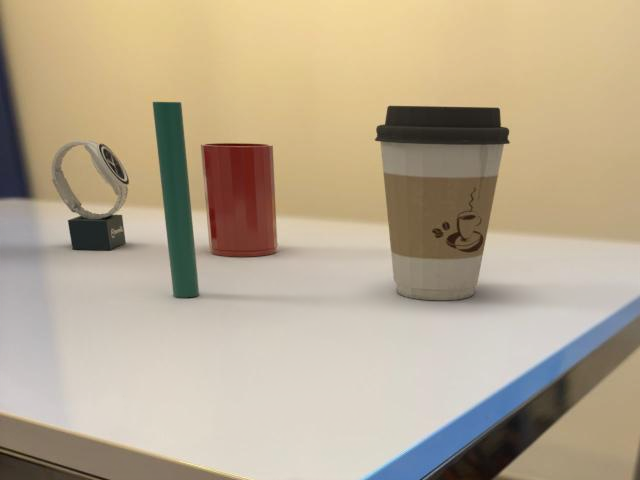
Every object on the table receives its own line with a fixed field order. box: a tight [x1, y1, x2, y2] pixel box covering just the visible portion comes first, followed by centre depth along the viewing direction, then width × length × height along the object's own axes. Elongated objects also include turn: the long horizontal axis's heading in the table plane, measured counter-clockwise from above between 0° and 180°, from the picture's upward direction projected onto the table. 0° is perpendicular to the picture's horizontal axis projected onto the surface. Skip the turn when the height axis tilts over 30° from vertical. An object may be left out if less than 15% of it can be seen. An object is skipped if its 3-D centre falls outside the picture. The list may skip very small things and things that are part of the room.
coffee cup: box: [374, 105, 511, 301], centre depth 68 cm, size 11×11×15 cm
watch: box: [51, 140, 130, 251], centre depth 88 cm, size 6×8×11 cm
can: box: [200, 142, 278, 258], centre depth 86 cm, size 8×8×11 cm
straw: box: [152, 101, 200, 299], centre depth 65 cm, size 2×2×15 cm
